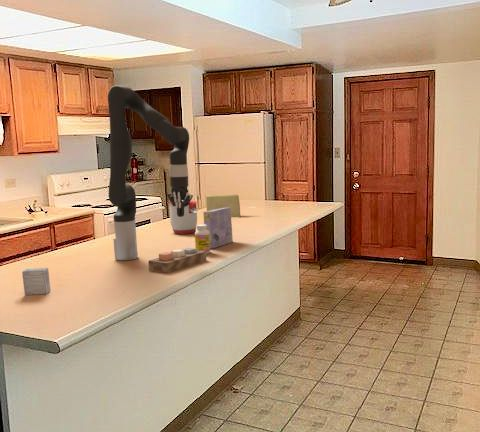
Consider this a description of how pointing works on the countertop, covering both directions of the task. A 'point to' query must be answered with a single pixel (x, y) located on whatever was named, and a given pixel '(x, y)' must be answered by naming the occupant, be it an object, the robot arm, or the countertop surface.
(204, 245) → the supplement bottle
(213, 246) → the cake pan box
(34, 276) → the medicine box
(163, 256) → the pink cube
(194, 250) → the slate key
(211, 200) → the cheese
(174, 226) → the citrus juicer
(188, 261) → the key panel
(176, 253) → the cream cube
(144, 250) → the countertop surface
